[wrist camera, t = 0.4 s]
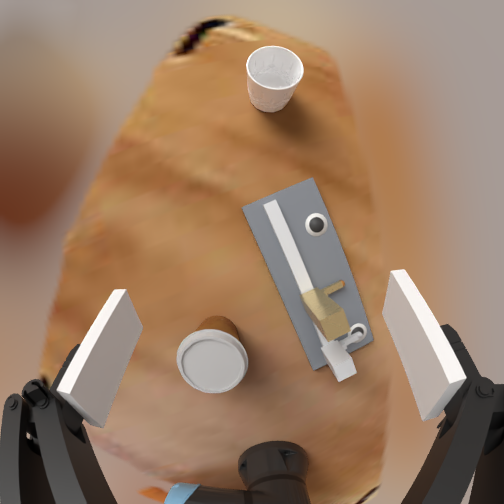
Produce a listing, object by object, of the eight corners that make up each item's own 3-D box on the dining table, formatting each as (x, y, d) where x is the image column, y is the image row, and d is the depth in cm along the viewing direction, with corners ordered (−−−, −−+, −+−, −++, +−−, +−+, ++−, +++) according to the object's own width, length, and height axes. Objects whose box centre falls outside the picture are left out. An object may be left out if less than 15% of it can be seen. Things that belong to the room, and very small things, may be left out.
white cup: (301, 101, 43) (315, 73, 33) (265, 124, 43) (271, 99, 33) (272, 69, 42) (278, 38, 32) (235, 91, 42) (234, 61, 33)
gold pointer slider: (346, 289, 44) (383, 313, 31) (304, 310, 44) (328, 342, 31) (340, 273, 44) (376, 291, 31) (297, 293, 44) (319, 320, 31)
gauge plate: (370, 337, 47) (395, 359, 37) (311, 366, 47) (326, 396, 37) (310, 178, 44) (328, 166, 34) (241, 208, 44) (241, 203, 34)
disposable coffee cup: (186, 308, 46) (168, 334, 34) (244, 304, 46) (244, 330, 34) (194, 359, 46) (181, 396, 34) (249, 356, 47) (251, 394, 35)
